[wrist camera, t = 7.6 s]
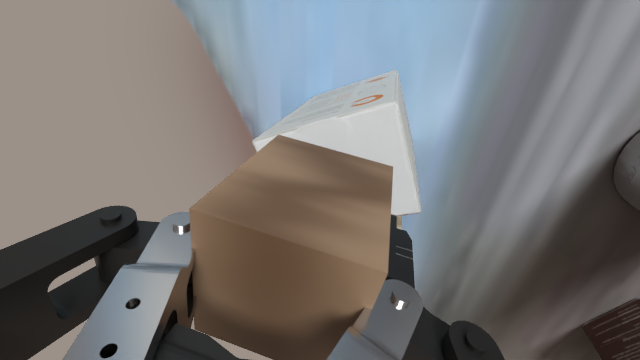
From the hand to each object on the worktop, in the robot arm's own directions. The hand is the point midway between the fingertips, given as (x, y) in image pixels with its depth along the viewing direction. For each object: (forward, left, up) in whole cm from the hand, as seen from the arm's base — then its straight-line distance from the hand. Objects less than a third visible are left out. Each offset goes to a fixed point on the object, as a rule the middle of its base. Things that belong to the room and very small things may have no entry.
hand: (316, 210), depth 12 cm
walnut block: (0, 0, -1) cm, 1 cm away
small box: (0, 0, -17) cm, 17 cm away
